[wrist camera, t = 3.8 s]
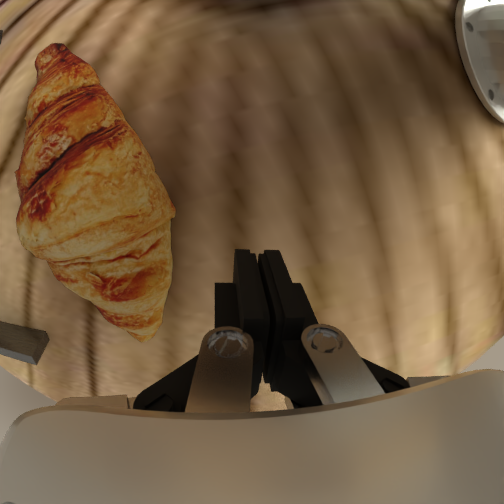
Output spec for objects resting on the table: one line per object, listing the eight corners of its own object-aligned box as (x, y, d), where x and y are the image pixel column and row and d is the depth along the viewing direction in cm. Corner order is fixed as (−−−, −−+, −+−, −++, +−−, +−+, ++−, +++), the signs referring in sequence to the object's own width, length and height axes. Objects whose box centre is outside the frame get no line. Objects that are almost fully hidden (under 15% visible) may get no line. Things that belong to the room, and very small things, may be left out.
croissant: (190, 290, 25) (234, 344, 19) (91, 339, 21) (105, 409, 15) (119, 41, 14) (142, -8, 8) (-11, 95, 10) (-56, 75, 4)
